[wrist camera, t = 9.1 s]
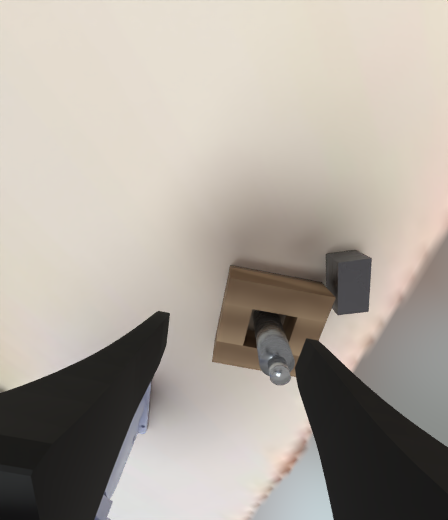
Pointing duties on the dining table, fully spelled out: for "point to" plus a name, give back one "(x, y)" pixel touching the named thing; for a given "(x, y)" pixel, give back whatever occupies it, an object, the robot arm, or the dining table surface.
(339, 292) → the square bar
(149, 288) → the dining table surface
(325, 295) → the socket block
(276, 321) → the round bit
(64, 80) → the dining table surface
